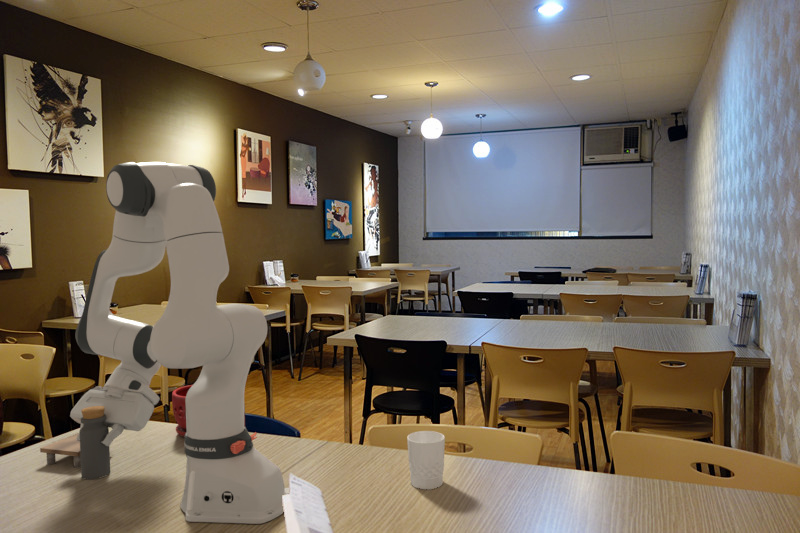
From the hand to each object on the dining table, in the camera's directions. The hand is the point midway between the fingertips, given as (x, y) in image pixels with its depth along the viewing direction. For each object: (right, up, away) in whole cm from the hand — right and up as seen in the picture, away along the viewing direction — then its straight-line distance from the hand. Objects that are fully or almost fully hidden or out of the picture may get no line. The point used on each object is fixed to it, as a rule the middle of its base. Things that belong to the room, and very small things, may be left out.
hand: (92, 443), depth 137 cm
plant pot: (+14, -6, +29) cm, 33 cm away
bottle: (0, -8, +1) cm, 8 cm away
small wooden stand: (-9, -7, +11) cm, 16 cm away
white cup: (+74, -7, -7) cm, 75 cm away
